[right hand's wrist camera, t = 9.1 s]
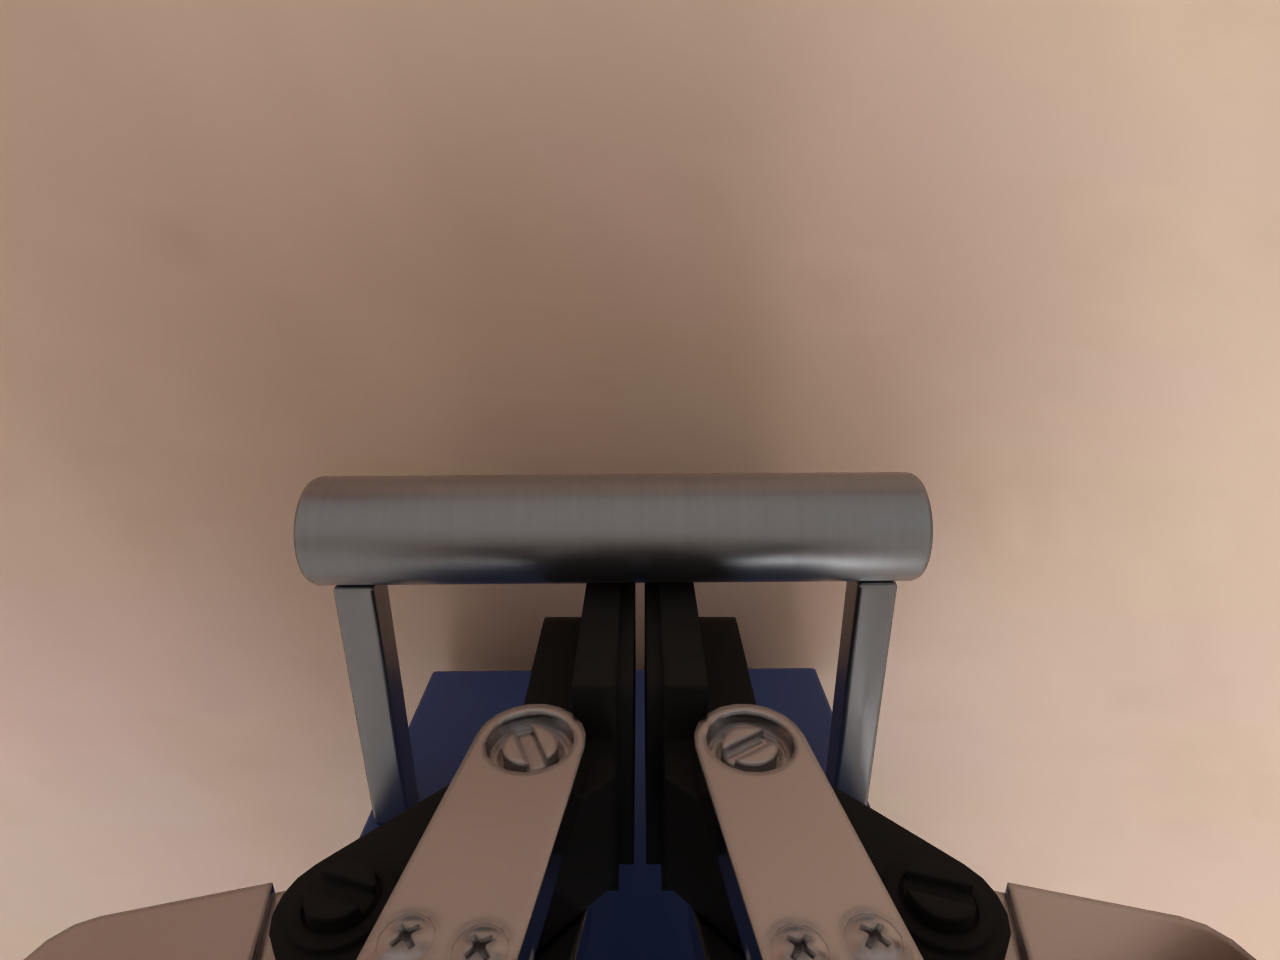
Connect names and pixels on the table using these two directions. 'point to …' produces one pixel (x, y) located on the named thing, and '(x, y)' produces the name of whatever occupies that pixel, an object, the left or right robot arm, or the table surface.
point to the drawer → (608, 553)
